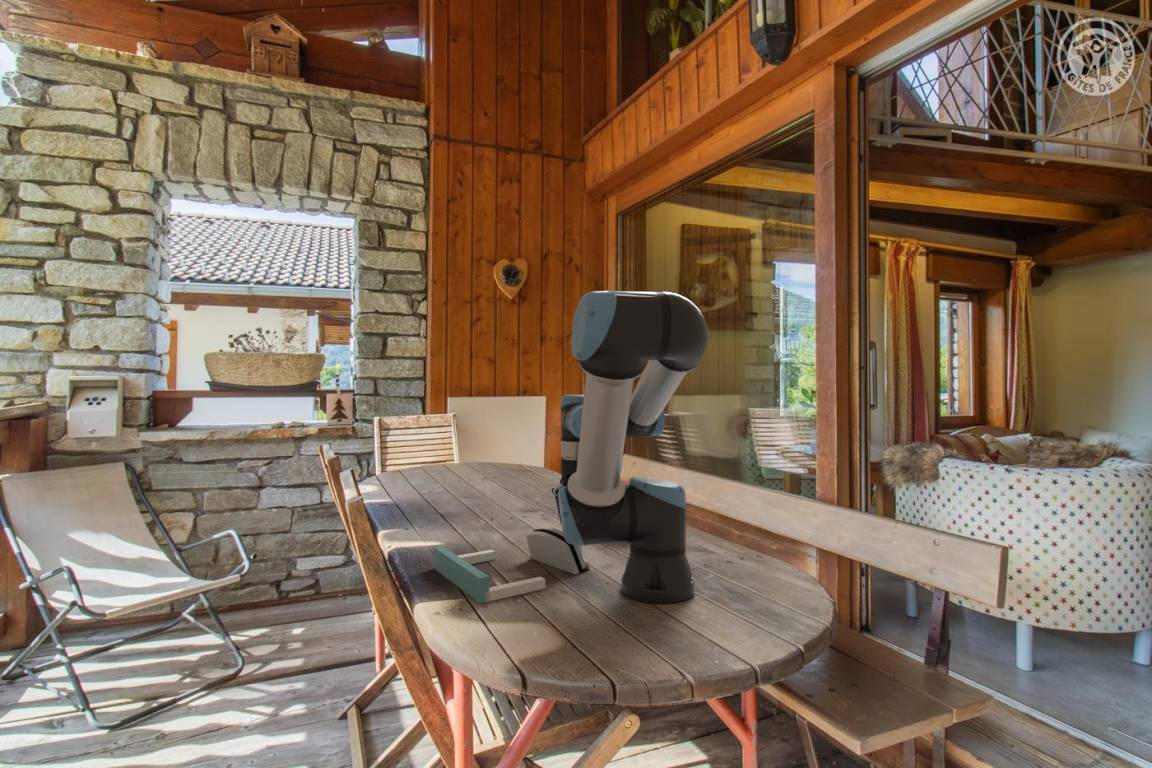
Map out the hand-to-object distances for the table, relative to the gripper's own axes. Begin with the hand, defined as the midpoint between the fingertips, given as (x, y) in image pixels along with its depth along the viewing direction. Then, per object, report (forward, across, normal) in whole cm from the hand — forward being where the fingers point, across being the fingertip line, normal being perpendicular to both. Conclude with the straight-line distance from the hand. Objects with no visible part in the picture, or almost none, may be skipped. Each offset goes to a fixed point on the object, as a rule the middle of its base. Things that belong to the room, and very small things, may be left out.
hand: (576, 553), depth 146 cm
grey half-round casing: (+2, +6, +1) cm, 6 cm away
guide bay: (+1, +23, 0) cm, 23 cm away
